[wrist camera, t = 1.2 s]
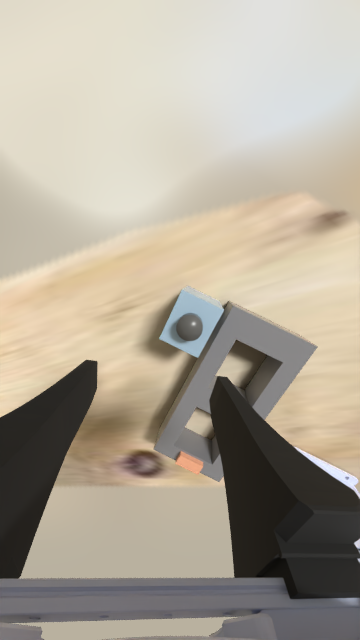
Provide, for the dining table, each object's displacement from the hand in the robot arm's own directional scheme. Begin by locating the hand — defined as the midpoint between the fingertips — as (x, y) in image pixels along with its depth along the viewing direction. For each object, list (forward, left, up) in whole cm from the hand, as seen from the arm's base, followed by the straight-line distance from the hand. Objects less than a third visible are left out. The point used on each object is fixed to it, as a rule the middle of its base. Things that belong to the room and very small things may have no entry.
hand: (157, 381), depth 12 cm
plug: (-1, -2, -12) cm, 13 cm away
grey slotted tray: (-8, +5, -12) cm, 15 cm away
